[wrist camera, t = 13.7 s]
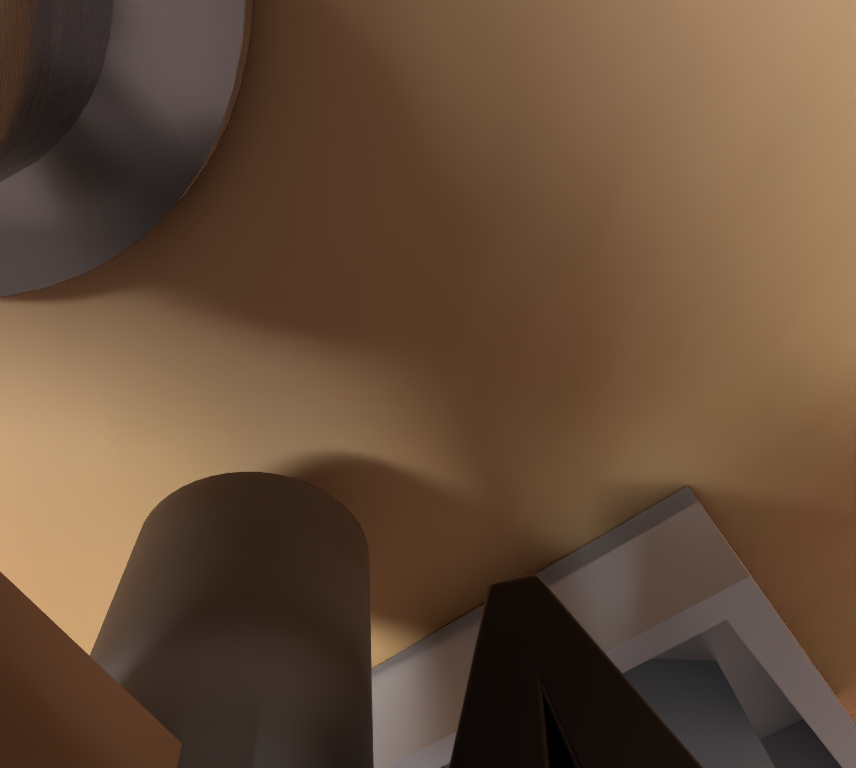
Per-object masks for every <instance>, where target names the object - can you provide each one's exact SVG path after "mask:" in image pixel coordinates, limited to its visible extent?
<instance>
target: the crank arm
mask: <svg viewBox="0 0 856 768" xmlns="http://www.w3.org/2000/svg"><path fill="white" fill-rule="evenodd" d="M0 768H374V760H373V716H372V671H371V627H370V583H369V553H368V545H367V541H366V538H365V535H364V533H363V531H362V529H361V527H360V525H359V523H358V522H357V520H356V519H355V517H354V516H353V515H352V514H351V513H350V511H349V510H348V509H347V508H346V507H345V506H344V505H343V504H341V503H340V502H339V501H338V500H336V499H335V498H334V497H333V496H331V495H329V494H328V493H326V492H324V491H323V490H321V489H319V488H317V487H315V486H313V485H311V484H308V483H306V482H303V481H300V480H297V479H294V478H291V477H287V476H282V475H278V474H271V473H262V472H236V473H226V474H220V475H215V476H210V477H207V478H204V479H201V480H197V481H195V482H192V483H190V484H188V485H186V486H183V487H181V488H180V489H178V490H176V491H175V492H173V493H171V494H170V495H169V496H167V497H166V498H165V499H164V500H162V501H161V502H160V503H159V504H158V505H157V506H156V507H155V508H154V509H153V510H152V512H151V513H150V514H149V516H148V517H147V519H146V520H145V522H144V524H143V526H142V529H141V531H140V533H139V536H138V538H137V541H136V543H135V546H134V548H133V551H132V553H131V556H130V558H129V561H128V563H127V566H126V568H125V570H124V573H123V575H122V578H121V580H120V583H119V585H118V588H117V590H116V593H115V595H114V598H113V600H112V603H111V605H110V607H109V610H108V612H107V615H106V617H105V620H104V622H103V625H102V627H101V630H100V632H99V635H98V637H97V640H96V642H95V644H94V647H93V649H92V652H91V654H90V656H89V655H88V654H87V653H86V652H85V651H84V650H83V649H82V648H81V647H79V646H78V645H77V644H76V643H75V642H74V641H73V640H72V639H71V638H70V637H69V636H68V635H67V634H66V633H65V632H64V631H63V630H61V629H60V628H59V627H58V626H57V625H56V624H55V623H54V622H53V621H52V620H51V619H50V618H49V617H48V616H47V615H46V614H45V613H43V612H42V611H41V610H40V609H39V608H38V607H37V606H36V605H35V604H34V603H33V602H32V601H31V600H30V599H29V598H28V597H27V596H26V595H24V594H23V593H22V592H21V591H20V590H19V589H18V588H17V587H16V586H15V585H14V584H13V583H12V582H11V581H10V580H9V579H8V578H6V577H5V576H4V575H3V574H2V573H1V572H0Z"/></svg>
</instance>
